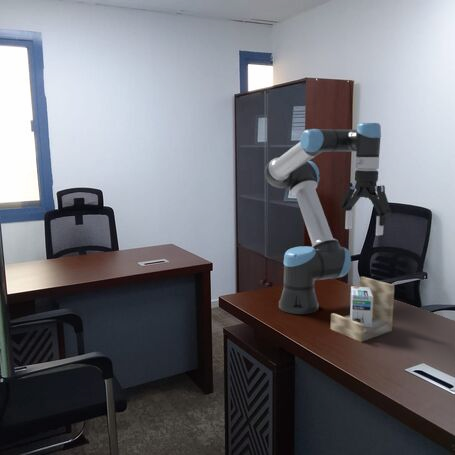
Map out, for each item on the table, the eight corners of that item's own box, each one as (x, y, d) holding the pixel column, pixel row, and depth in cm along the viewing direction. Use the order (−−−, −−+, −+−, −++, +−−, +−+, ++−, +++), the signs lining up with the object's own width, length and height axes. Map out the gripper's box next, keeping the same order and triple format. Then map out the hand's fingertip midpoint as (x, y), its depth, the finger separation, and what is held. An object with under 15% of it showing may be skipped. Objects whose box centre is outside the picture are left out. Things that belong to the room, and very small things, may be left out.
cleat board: (330, 329, 157) (332, 283, 154) (361, 319, 165) (362, 276, 163) (360, 342, 146) (363, 293, 143) (391, 330, 155) (394, 285, 152)
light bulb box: (372, 328, 150) (373, 296, 148) (351, 326, 151) (352, 295, 149) (369, 316, 160) (370, 286, 158) (349, 315, 161) (350, 285, 159)
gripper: (331, 168, 163) (329, 227, 167) (390, 172, 142) (385, 239, 146) (347, 167, 167) (344, 225, 171) (405, 171, 146) (401, 236, 150)
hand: (363, 231), depth 158 cm, fingers open, 13 cm apart
